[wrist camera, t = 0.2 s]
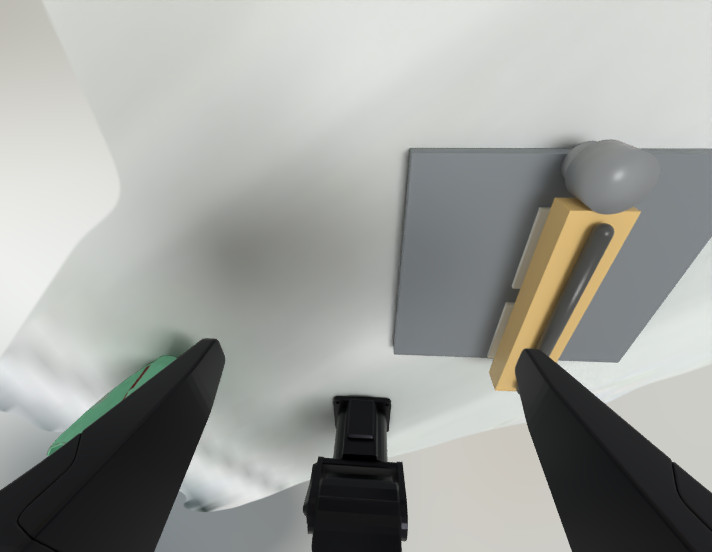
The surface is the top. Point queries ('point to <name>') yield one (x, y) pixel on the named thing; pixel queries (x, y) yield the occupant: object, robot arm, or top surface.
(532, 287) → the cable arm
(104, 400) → the mug
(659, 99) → the top surface
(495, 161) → the panel
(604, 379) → the top surface
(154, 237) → the top surface
